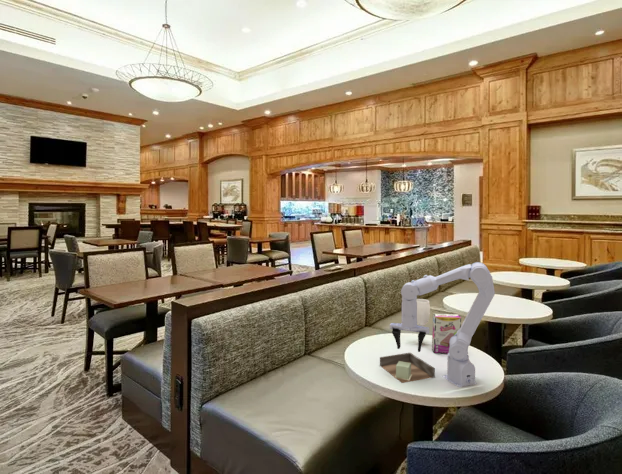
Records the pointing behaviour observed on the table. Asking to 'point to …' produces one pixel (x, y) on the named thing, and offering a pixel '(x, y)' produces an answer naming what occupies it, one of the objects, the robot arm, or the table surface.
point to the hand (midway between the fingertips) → (409, 349)
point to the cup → (423, 311)
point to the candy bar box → (444, 331)
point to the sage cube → (403, 370)
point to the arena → (417, 366)
